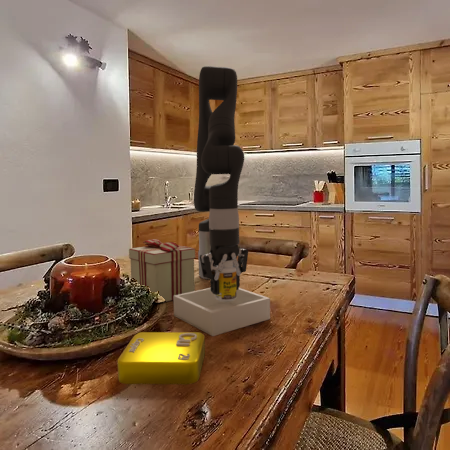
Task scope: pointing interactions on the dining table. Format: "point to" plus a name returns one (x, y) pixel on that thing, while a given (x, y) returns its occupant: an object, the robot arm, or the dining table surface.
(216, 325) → the box
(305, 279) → the dining table surface
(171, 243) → the gift box
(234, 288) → the supplement bottle
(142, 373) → the element tile
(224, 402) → the dining table surface
